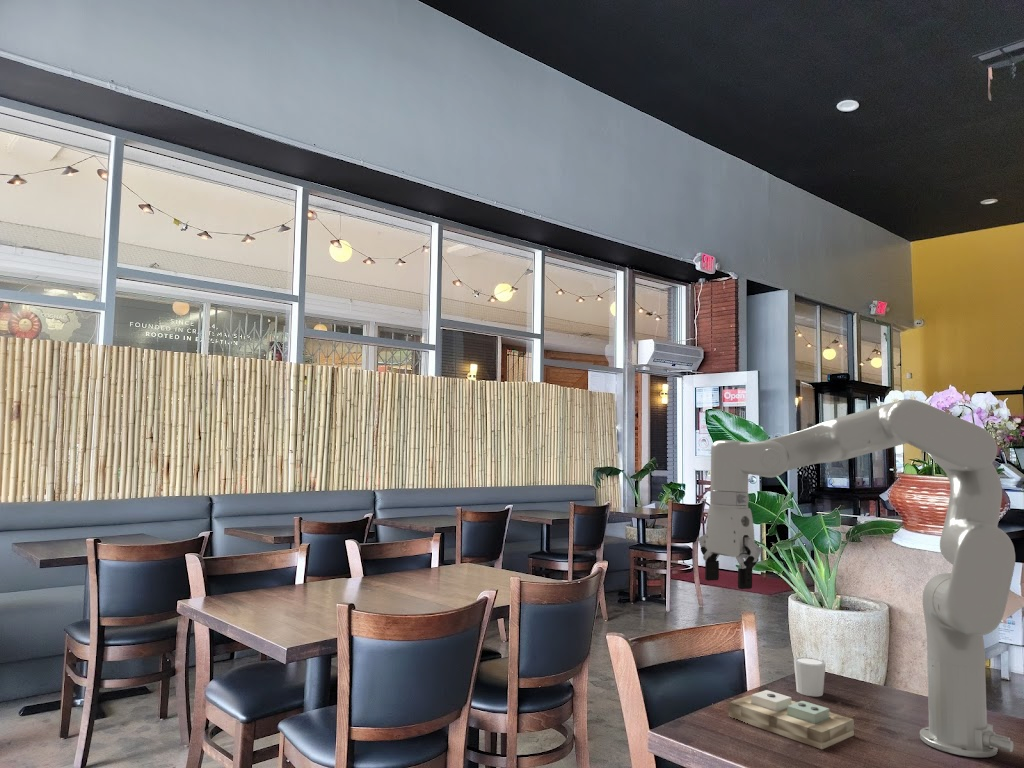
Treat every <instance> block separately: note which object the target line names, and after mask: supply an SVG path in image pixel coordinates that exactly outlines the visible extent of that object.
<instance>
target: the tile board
mask: <svg viewBox="0 0 1024 768" xmlns="http://www.w3.org/2000/svg"><path fill="white" fill-rule="evenodd" d="M751 695H752V694H750V695H746V696H743V697H739V698H736V699H733V700H731V701H728V717H729V716H730V717H732V718H731V719H733V718H735V719H734V720H736V719H738V720H741V721H743V722H742V723H744V722H745V723H744V724H747V723H748V724H747V725H750V726H754V727H755V728H756V727H757V728H759V729H762V730H765V731H768V732H771V733H774V734H776V735H780V736H782V737H785V738H788V739H791V740H794V741H797V742H800V743H803V744H805V745H809V746H811V747H814V748H818V749H820V750H824V749H826V748H829V747H830V746H834V745H837V744H838V743H840V742H842V741H844V740H847V739H848V738H851V737H853V736H855V729H854V728H855V727H854V726H855V725H854V724H855V720H854V718H850V717H848V716H844V715H841V714H837V713H834V712H831V711H829V719H827V720H825V721H822V722H820V723H817V724H812V723H809V722H806V721H803V720H800V719H797V718H794V717H791V716H788V715H787V709H784V710H781V711H778V712H775V711H772V710H769V709H766V708H763V707H759V706H756V705H753V704H751ZM797 702H798V701H795V700H791V704H794V703H797ZM730 717H729V718H730ZM738 720H737V721H738ZM741 721H740V722H741Z"/></svg>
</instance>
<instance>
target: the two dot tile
mask: <svg viewBox="0 0 1024 768" xmlns="http://www.w3.org/2000/svg"><path fill="white" fill-rule="evenodd" d="M796 702H797V703H794V704H791V705H788V706H787V715H788V716H791V717H794V718H797V719H800V720H803V721H806V722H809V723H812V724H817V723H820V722H822V721H825V720H827V719H829V712H830V708H829V707H825V706H822V705H819V704H815V703H811V702H808V701H804V700H800V701H796Z"/></svg>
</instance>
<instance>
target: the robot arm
mask: <svg viewBox="0 0 1024 768" xmlns="http://www.w3.org/2000/svg"><path fill="white" fill-rule="evenodd" d="M905 444H906V445H907V444H908V445H910V446H913V447H914V448H916V449H919V450H921V451H922V452H925V453H926V454H928V455H930V456H931V458H932V460H933V461H934V462H935V463H936V464H937V465H938V466H939V467H940V468H941V469H942V470H943V471H944V473H945V474H946V476H947V478H948V482H949V487H950V490H949V498H948V499H949V500H948V504H947V505H948V506H947V510H946V513H945V514H946V515H945V518H944V519H945V520H944V523H943V526H942V530H941V531H942V532H941V535H940V539H939V549H940V552H941V553H940V554H941V555H942V556H943V558H944V559H945V560H946V561H947V562H948V563H949V564H951V565H952V569H951V572H949V573H948V572H947V573H940V574H937V575H935V576H932V577H931V578H930V579H929V580H928V581H927V583H926V584H925V585H924V588H923V591H922V592H923V593H922V609H923V611H922V612H923V617H924V623H925V632H926V651H927V653H926V654H927V656H926V659H927V661H926V663H927V701H928V705H927V706H928V708H927V709H928V726H926V727H923V728H921V729H920V730H919V739H920V740H921V741H922V742H923V743H925V744H926V745H928V746H929V747H932V748H934V749H936V750H939V751H941V752H945V753H949V754H953V755H957V756H963V757H967V758H968V757H969V758H990V757H994V756H996V755H997V754H998V753H997V752H999V750H998V749H1000V750H1002V751H1005V752H1009V753H1013V751H1014V742H1013V740H1011V738H1010V737H1007V736H1004V735H1000V734H997V733H996V732H995V731H994V727H993V725H994V724H992V723H991V724H990V723H988V719H987V718H988V716H987V715H988V714H987V711H988V710H987V684H986V683H987V681H986V648H985V640H984V636H986V635H988V634H990V633H992V632H993V631H995V630H996V629H997V628H998V627H999V625H1000V623H1001V622H1002V620H1003V618H1004V616H1005V615H1004V614H1005V612H1006V608H1007V602H1008V598H1009V595H1010V589H1011V586H1012V585H1011V584H1012V580H1013V576H1014V572H1015V568H1016V567H1015V566H1016V552H1015V546H1014V543H1013V542H1012V540H1011V538H1010V537H1009V535H1008V534H1007V533H1006V532H1005V531H1003V530H1002V529H1001V528H999V527H998V526H999V520H1000V514H1001V507H1002V499H1003V489H1002V482H1001V478H1000V476H999V473H998V471H997V469H996V467H995V466H994V464H993V463H994V461H995V460H996V458H997V455H998V444H997V442H996V439H995V438H994V436H993V435H992V434H991V433H990V432H989V431H987V429H985V428H984V427H982V426H979V425H977V424H975V423H973V422H970V421H967V420H965V419H964V418H960V417H958V416H956V415H954V414H952V413H948V412H946V411H944V410H941V409H939V408H937V407H935V406H932V405H930V404H927V403H925V402H922V401H920V400H917V399H912V398H910V399H908V398H907V399H902V400H901V399H900V400H897V401H894V402H889V403H886V404H882V405H878V406H875V407H872V408H867V409H865V410H859V411H857V412H854V413H850V414H847V415H842V416H838V417H835V418H831V419H829V420H826V421H823V422H819V423H817V424H814V425H813V426H810V427H807V428H804V429H801V430H799V431H795V432H792V433H788V434H784V435H780V436H777V437H774V438H769V439H766V440H760V441H759V440H758V441H742V440H733V439H732V440H731V439H729V440H728V439H722V440H721V439H720V440H715V441H714V442H713V443H712V444H711V448H710V491H709V492H710V494H709V495H710V496H709V498H710V504H709V507H708V512H707V518H706V527H705V534H702V536H699V537H698V543H699V546H700V552H701V553H702V555H703V560H704V562H705V563H704V564H705V565H704V568H705V569H704V579H705V581H708V582H709V581H718V580H719V579H720V560H718V558H719V557H720V556H725V557H730V558H735V559H736V562H737V563H738V565H739V568H738V569H737V588H738V589H739V590H748V589H749V590H750V589H752V588H753V569H755V567H756V564H757V563H758V562H759V560H760V559H759V558H760V556H761V554H762V551H763V550H762V547H760V546H759V545H758V544H757V543H756V542H755V540H756V539H755V527H754V519H753V514H752V510H751V508H749V502H750V496H749V475H752V476H759V477H762V478H763V477H764V478H776V477H780V476H782V474H784V473H785V472H789V471H792V470H795V469H799V468H803V467H807V466H812V465H816V464H824V463H836V462H841V461H845V460H849V459H854V458H857V457H861V456H864V455H869V454H871V453H875V452H878V451H883V450H886V449H891V448H894V447H898V446H901V445H905Z"/></svg>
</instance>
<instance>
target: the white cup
mask: <svg viewBox="0 0 1024 768" xmlns="http://www.w3.org/2000/svg"><path fill="white" fill-rule="evenodd" d="M793 667H794V676H795V687H796V688H795V689H796V692H797V693H798V694H800V695H802V696H803V695H804V696H807V697H816V698H817V697H822V696H823V694H824V688H825V687H824V686H825V677H826V674H825V673H826V662H825V661H824V660H821V659H818V658H812V657H795V658H794V659H793Z"/></svg>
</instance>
